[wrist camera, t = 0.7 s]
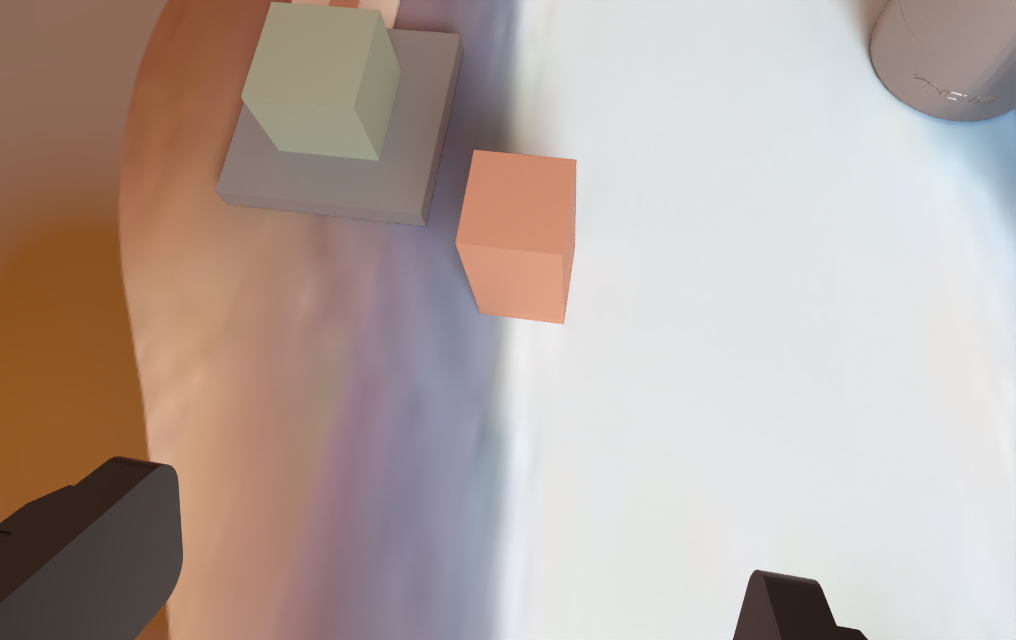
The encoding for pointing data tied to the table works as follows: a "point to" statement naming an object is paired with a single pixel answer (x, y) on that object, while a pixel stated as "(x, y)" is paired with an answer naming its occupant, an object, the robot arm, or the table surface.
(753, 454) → the table surface
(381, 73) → the sage brick
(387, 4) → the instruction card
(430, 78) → the base plate
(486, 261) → the terracotta brick
